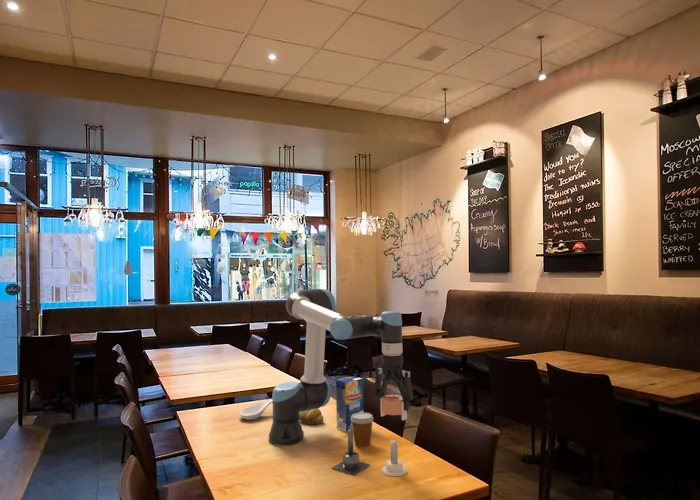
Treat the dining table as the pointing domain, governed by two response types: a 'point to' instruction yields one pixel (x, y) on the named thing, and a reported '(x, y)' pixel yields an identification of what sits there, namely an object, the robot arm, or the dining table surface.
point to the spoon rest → (255, 410)
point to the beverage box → (348, 400)
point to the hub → (394, 462)
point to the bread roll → (311, 416)
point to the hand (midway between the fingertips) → (393, 417)
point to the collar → (391, 404)
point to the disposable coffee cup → (362, 428)
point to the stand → (350, 459)
